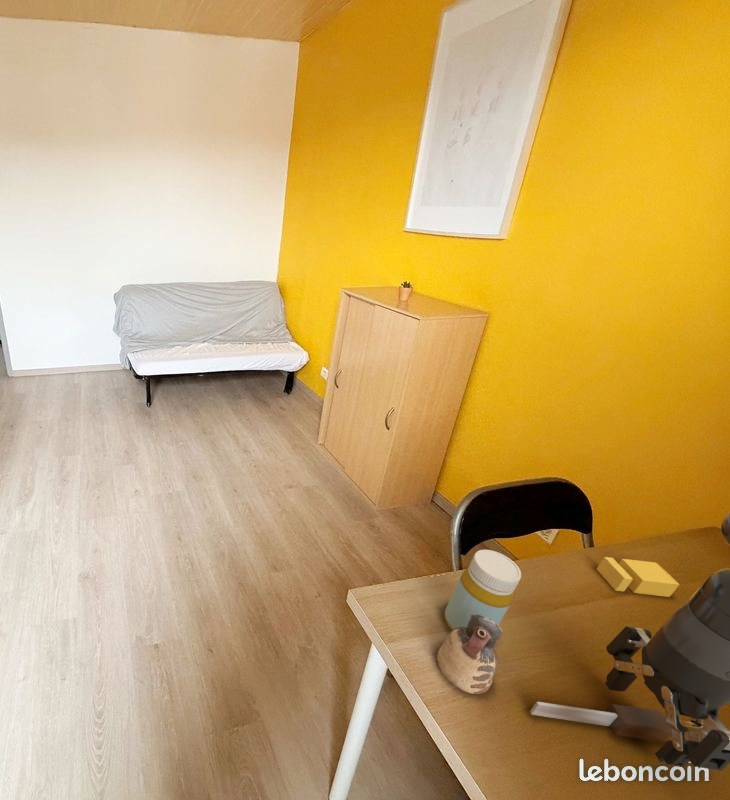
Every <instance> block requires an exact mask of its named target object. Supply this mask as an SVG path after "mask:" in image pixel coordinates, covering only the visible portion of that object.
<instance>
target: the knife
mask: <svg viewBox="0 0 730 800" xmlns="http://www.w3.org/2000/svg"><path fill="white" fill-rule="evenodd" d="M529 713H530V714H531V715H532V716H539V717H546V718H551V719H558V720H565V721H571V722H578V723H584V724H585V723H586V724H592V725H597V726H605V727H608V728H610V730H611V732H612V733H613V734H614V736H618V737H619V736H620V737H626V738H633V739H639V740H644V741H652V742H658V743H664V742H665V741H666V740H668V738H669V737H670V736H672V735H671V727H670V726H669V725H668V724H667V723H666V716H664V714H663V713H662V711H661V710H656V709H649V708H643V707H636V706H631V705H622V704H616V703H611V704H610V705H609V707H608V708H607V709H606V710H605V711H604V710H603V711H602V710H598V709H597V710H595V709H590V708H584V707H583V708H582V707H576V706H570V705H563V704H557V703H551V702H543V701H536V702H535V704H534V705H533V706H532V708H531V709H530V710H529Z"/></svg>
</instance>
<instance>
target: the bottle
mask: <svg viewBox="0 0 730 800" xmlns="http://www.w3.org/2000/svg"><path fill="white" fill-rule="evenodd" d="M521 579H522V572H521V569H520V568H519V566H518V565H517V563H515V562H514V561H513V560H512V559H511V558H509V557H508V556H506V555H505V554H503V553H501V552H498V551H495V550H491V549H480V550H477V551H476V552H475V553H474V555H473V556H472V559H471V561H470V564H469V566H468V567H467V568H465V569H464V570H463V571H462V573H461V575H460V577H459V579H458V582H457V583H456V586H455V588H454V590H453V592H452V595H451V597H450V599H449V601H448V603H447V606H446V608H445V610H444V613H443V614H444V617H443V618H444V621H445V623H446V625H447V627H448V628H449V629H450V630H451V632H452V631H453V630H454V629H455V628H458V627H466V628H467V626H468V622H469V620H470V619H471V615H472V614H475V615H481V616H484V617H487V618H489V619H491V620H492V621H493V622H494V623H495V624H496V625H497V626H498V627H499V625H500V623H501V622H502V620H503V618H504V616H505V615H506V613H507V611H508V610H509V608H510V606H511V604H512V602H513V600H514V591H515V590H516V588H517V586H518V584H519V582H520V581H521Z"/></svg>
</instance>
